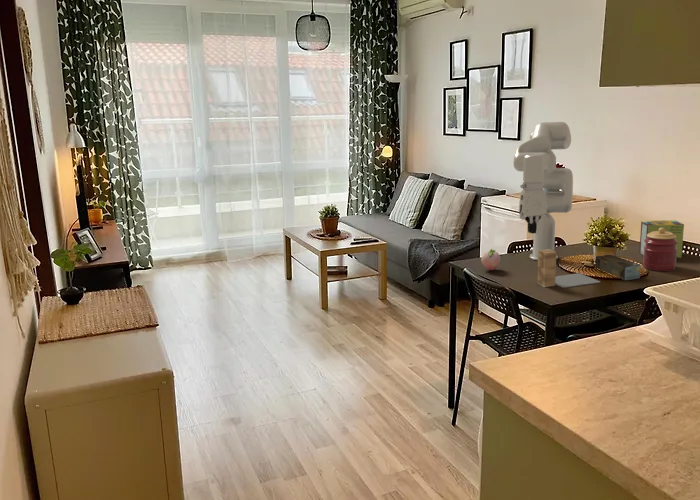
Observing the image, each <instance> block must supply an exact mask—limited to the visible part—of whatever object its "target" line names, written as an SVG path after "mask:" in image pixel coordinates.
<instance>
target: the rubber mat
mask: <svg viewBox="0 0 700 500" xmlns="http://www.w3.org/2000/svg"><path fill="white" fill-rule="evenodd" d="M594 284H601V281H600V280H598V279H594V277H593V278H592V277H590V276H587V275H585V274H582V273H580V272H577V273H576V272H575V273H572V274H571V273H569V274H562V275H557V276H556V278H555V286H557V287H559V288H562V289H567V288H574V287H580V286H588V285H589V286H590V285H594Z"/></svg>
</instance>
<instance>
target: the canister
mask: <svg viewBox="0 0 700 500" xmlns="http://www.w3.org/2000/svg"><path fill="white" fill-rule="evenodd" d="M675 238H676V235H674V234H673V233H671V232H667V231H665V229H664V228H659V230H658V231H653V232H651V233H649V234H647V238H646V239H645V240H644V242H645V247H644V256H643V260H642V267H643V268H644V269H647V270H651V271H656V272H671V271H675V270H676V267H677V260H678V258H677V250H678V249H677V244H678V241H677V240H676V239H675Z"/></svg>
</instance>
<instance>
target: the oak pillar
mask: <svg viewBox="0 0 700 500" xmlns="http://www.w3.org/2000/svg"><path fill="white" fill-rule="evenodd" d="M556 255H557V251H555V250H554V251H552V250H550V249H547V250H539V251H538V261H537V284H538V286H539V285H540V286H541V287H544V288H547V287H554V286H556V285H555V278H556V271H557V270H556V269H557V259H556Z"/></svg>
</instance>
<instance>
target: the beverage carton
mask: <svg viewBox="0 0 700 500" xmlns="http://www.w3.org/2000/svg"><path fill="white" fill-rule="evenodd" d="M594 262H595V263H594V264H595V267H596V268H598V269H600V270H602V271H605V272H607V273H610V274H612V275H615V276H617V277H619V278H618V279H620V278H621V279H620V280H622V281H630V280H631V281H632V280H638V279H641V265H640V264H638V263H636V262H632V261H630V260H627V259H625V258H622V257H620V256H619V257H618V256H616V255H615V254H614V255H612V254H611V255H602V256H596V259H595V261H594ZM602 271H601V272H602ZM607 273H606V274H607ZM612 275H611V276H612ZM617 277H616V278H617Z"/></svg>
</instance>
